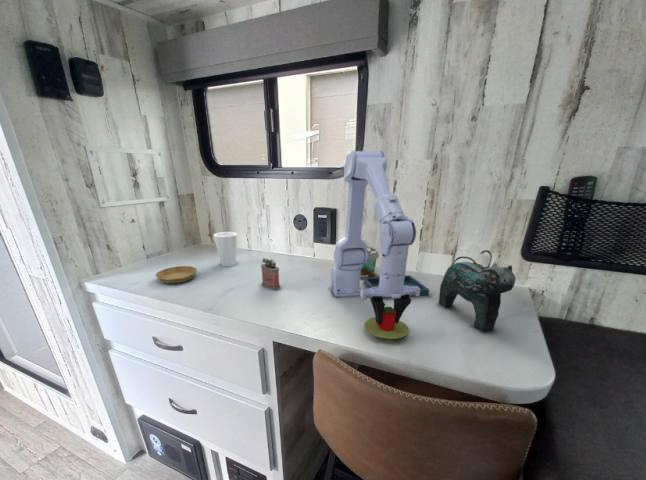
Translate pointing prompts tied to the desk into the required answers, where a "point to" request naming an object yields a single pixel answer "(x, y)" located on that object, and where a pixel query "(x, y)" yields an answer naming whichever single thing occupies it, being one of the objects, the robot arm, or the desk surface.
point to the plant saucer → (176, 274)
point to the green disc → (374, 329)
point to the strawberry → (388, 319)
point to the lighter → (270, 274)
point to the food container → (369, 263)
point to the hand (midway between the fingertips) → (386, 322)
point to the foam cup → (226, 247)
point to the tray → (407, 282)
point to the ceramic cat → (477, 289)
